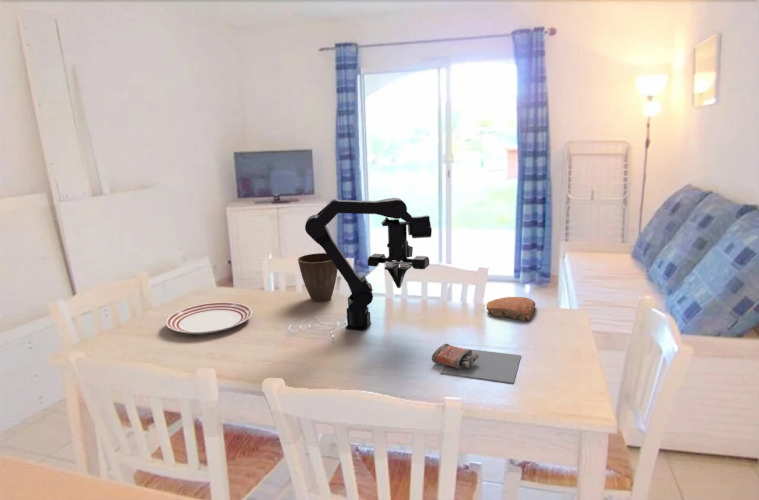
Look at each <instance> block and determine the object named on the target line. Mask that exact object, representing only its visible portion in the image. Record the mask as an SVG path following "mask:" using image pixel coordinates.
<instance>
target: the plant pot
mask: <svg viewBox="0 0 759 500" xmlns="http://www.w3.org/2000/svg"><path fill="white" fill-rule="evenodd" d="M297 262H298V266H299V270H300V273H301V274H300V275H301V277H302V280H303V283H304V286H305V289H306V290H307V293H308V295H309V297H310V299H311V301H312V302H317V303H321V302H328V301H329V300H331V299H332V297H333V293H334V290H335V286H336V283H337V277H338V276H337V275H338V271H339V270H338V269H337V267H336V266H335V265H334V263H333V262H332V260H331V259H330V257H329V256H328V255H327V253H326V252H317V253H310V254H309V253H308V254H305V255H302V256H300V257H298V258H297Z"/></svg>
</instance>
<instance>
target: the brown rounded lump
mask: <svg viewBox="0 0 759 500" xmlns="http://www.w3.org/2000/svg"><path fill="white" fill-rule="evenodd" d="M485 306H486V310H487V311H488V313H489V314H491V315H492V317H493V318H510V319H513V320H518V321H522V322H529V320H530V318H531V317H532V315H533V312H534V309H535V308H536V302H535V301H534V300H533V299H531V298H528V297H524V296H506V297H500V298H496V299H492V300H491V301H488V302H487V303H486V305H485Z"/></svg>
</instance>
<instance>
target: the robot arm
mask: <svg viewBox="0 0 759 500" xmlns="http://www.w3.org/2000/svg"><path fill="white" fill-rule="evenodd" d="M338 214H354V215H355V214H357V215H358V214H361V215H364V214H365V215H376V216H377V215H378V216H382V217H384V219H383V221H381V225H382V226H383V227H387V240H388V241H387V242H388V243H387V244H386V248H388V256H387V257H386V255H385V254H384V253H373V254H371V255H370V256H368V258H367V266H368V267H378V266H379V264H385V267H384V270H387V271H388V274H389V275H390V276H391V278H392V281H393V282H394V284H395V286H396V288H397V289H400V288H401V287H402V284H403V281H404V278H405V274H406V273H407V271H408V270H410V269H411V268H413V269H414V270H426V268H428V267H429V266H430V258H429V257H428V256H426V255H424V256H423V255H415V257H414V258H412V257H413V252H414V251H413V248H414V247H413V246H411V245H409V241H408V237H407V236H411V238H412V239H424V238H425V239H426V238H432V230H433V229H432V226H431V221H430V220H431V219H430V218H431V217H430V216H429V215H427V214H426V215H421V216H412V214H411V213H409V212H408V207H407V205H406V203H405V202H404V201H403V199H401V198H400V197H389V198H384V199H379V200H352V199H351V200H349V199H337V198H333V199H331V200H330V202H329V203H328V204H326V205H325V207H323V208H322V209H321V210H319V211H318V213H317V214H312V215H311V216H309V217H308V218H307V219H306V222H305V225H304V228H305V229H304V230H305V232H306V234H307V235H308V236H309V237H310V238H311V239H312V240H313V241H314V242H315V243H316V244H318V245H319V246H320V247H321V248H322V249H323V250H324V253H327V255H328V256H329V257H330V259H331V260H332V262H333V263H334V265H335V266H336V267H337V269H338V270H337V271H339V273H340V275H341V276H342V277H343V279H344V280H345V282H346V283H347V286H348V287H349V289H350V290H349V291H350V292H351V293H350V295H349V296H348V297H347V308H346V321H347V325H346V326H345V329H347V330H353V331H365V330H366V329H368V327H369V326H370V325H371V324H372V320H371V312H370V311H369V306H368V305H370V304H372V302H373V299H374V295H373V294H374V293H373V291H374V290H373V287H372V284H371V283H370V282H369V281H368V279H367V278H366V275H362V276H359V274H357V272H356V271H355V269H354V268H353V267H352V265H351V264H350V262H349V261H348V260H347V258H346V257H345V255H344V253H343V252H342V251H341V249H340V248H339V246H338V245H337V244H336V243H335V241H334V239H333V238H332V235H331V233H330V231H329V228H328V224H329V223H330V222H331V221H332V220H333V219H334V218H335V217H336V216H337V215H338ZM389 218H390V219H389ZM400 220H403V221H400ZM407 234H408V235H407Z"/></svg>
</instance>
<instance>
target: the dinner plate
mask: <svg viewBox="0 0 759 500" xmlns="http://www.w3.org/2000/svg"><path fill="white" fill-rule="evenodd" d="M252 316H253V309H252V308H251V307H250V306H249V305H246V304H244V303H239V302H238V303H237V302H234V301H233V302H231V301H213V302H206V303H201V304H196V305H195V304H194V305H192V306H187V307H185V308H182V309H179V310H177V311H175V312H174V313H171V315H169V316H168V317H167V318H166V320H165V325H166V327H167V328H169V329H170V330H172V331H175V332H178V333H182V334H183V333H184V334H190V335H191V334H193V335H206V334H205V333H210V334H214V333H213V332H216V333H219V331H220V332H223V330H224V331H226V329H227V330H229V329H232V328H235V327H237V326H239V325H241V324H243V323H245V322H247V321H249V319H250V318H251V317H252Z"/></svg>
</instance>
